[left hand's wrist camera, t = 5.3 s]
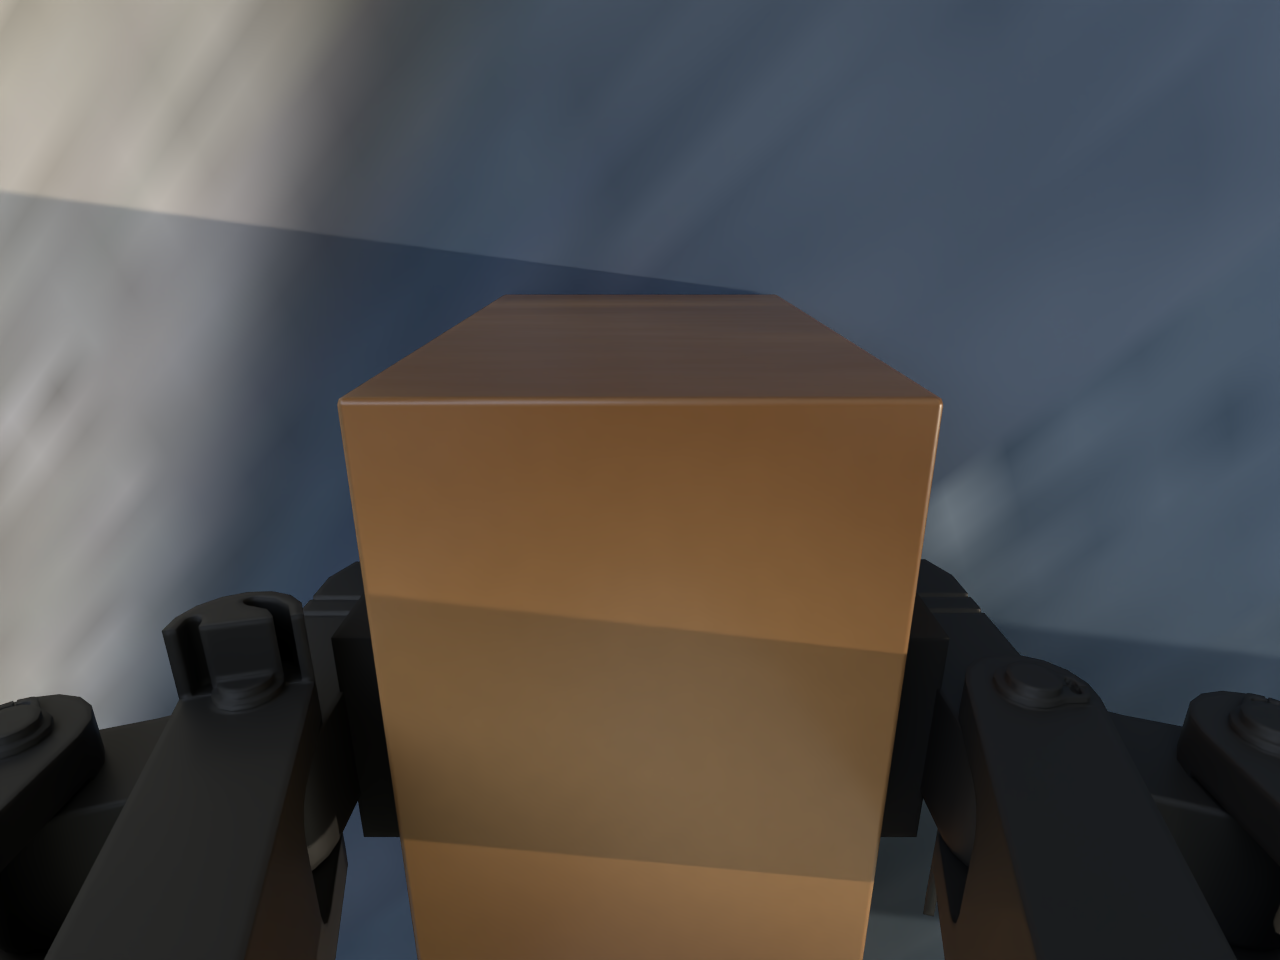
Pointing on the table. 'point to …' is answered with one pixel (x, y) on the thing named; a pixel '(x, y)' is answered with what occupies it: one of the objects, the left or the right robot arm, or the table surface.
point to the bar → (640, 623)
